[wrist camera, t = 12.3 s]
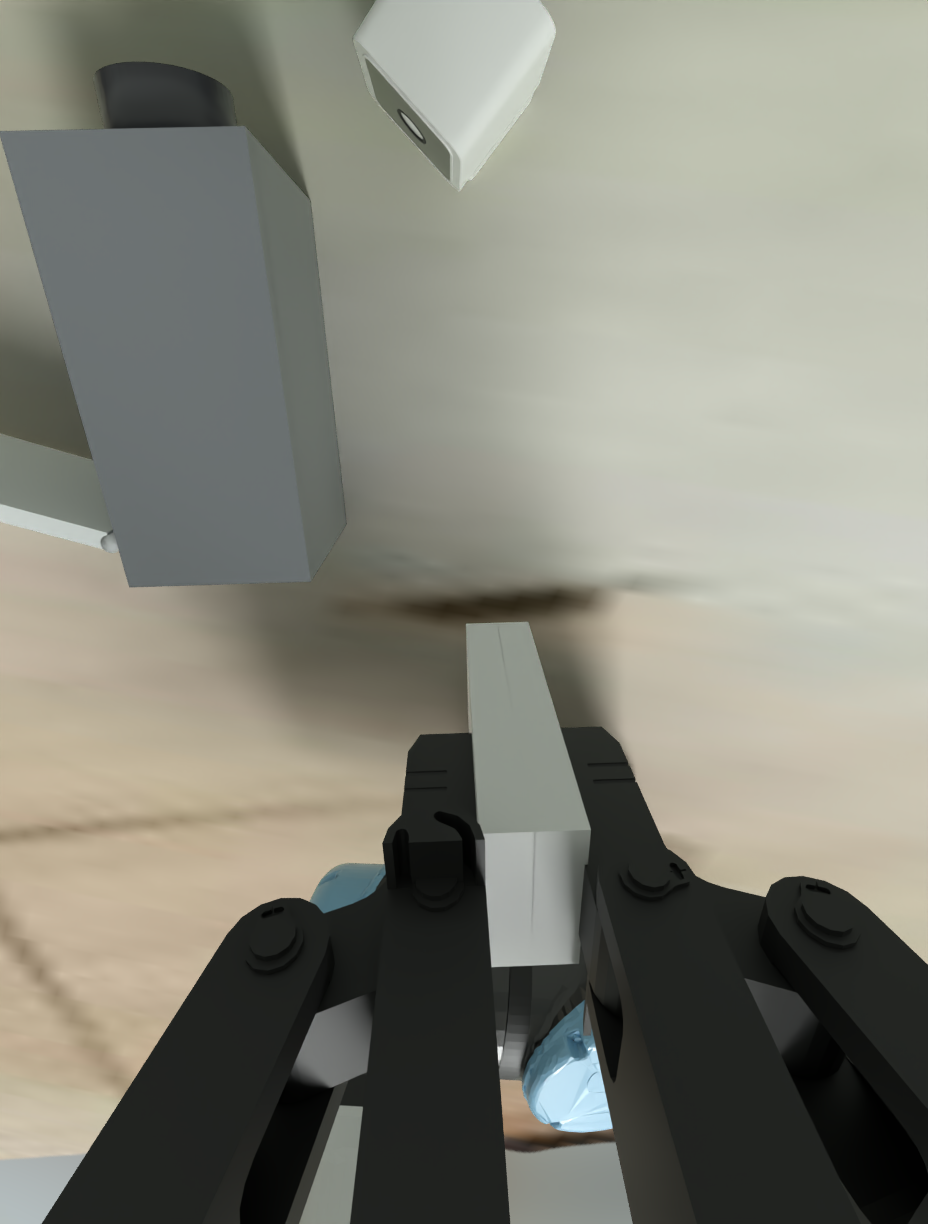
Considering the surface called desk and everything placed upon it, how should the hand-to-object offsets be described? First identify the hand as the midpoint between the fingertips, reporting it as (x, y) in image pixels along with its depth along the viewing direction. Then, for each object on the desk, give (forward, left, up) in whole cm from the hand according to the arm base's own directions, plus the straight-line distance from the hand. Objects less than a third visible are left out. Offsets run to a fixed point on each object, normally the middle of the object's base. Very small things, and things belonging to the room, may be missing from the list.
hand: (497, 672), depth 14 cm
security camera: (+20, 0, -30) cm, 36 cm away
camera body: (+8, +14, -29) cm, 33 cm away
